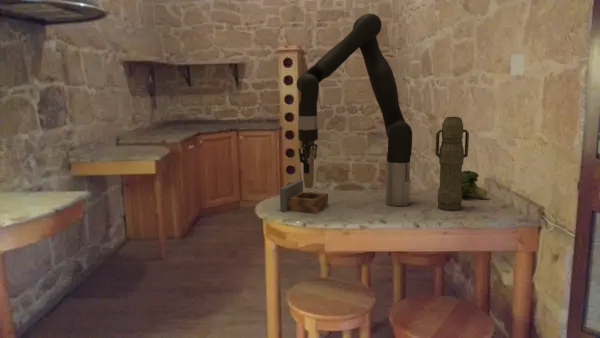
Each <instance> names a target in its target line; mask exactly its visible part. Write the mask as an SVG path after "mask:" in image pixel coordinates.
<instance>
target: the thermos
mask: <svg viewBox="0 0 600 338" xmlns="http://www.w3.org/2000/svg"><path fill="white" fill-rule="evenodd" d="M464 133H465V134H464ZM440 134H441V138H442V139H441V145H440ZM464 135H465V136H464ZM463 137H465V140H464V142H463ZM469 139H470V133H469V131H468V129H465V128H464V123H463V120H462V118H461V117H459V116H447V117H445V118H444V120H443V122H442V125H441V129H438V130H437V132H436V133H435V156H436V157H437V158H438V161H439V162H438V163H439V166H440V167H439V188H438V190H437V204H438V205H437V209H438V210H440V211H446V212H455V211H456V212H457V211H461V210H462V203H463V197H462V190H461V176H462V172H463V171H462V170H463V169H462V168H463V165H464V159H465V158H468V155H469V144H470V143H469V142H470V141H469ZM463 143H464V146H463Z"/></svg>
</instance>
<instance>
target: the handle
mask: <svg viewBox="0 0 600 338" xmlns="http://www.w3.org/2000/svg"><path fill="white" fill-rule="evenodd" d="M316 152H317V153H318V148H317V149H312V150H311V158H310V160H309V173H304V172H303V176H304V183H305V185H304V186H305V188H312V187H313V184H312V183H313V179H314V171H313V155H314V154H315V153H316ZM307 155H309V153H308V154H307Z"/></svg>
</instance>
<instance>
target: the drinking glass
mask: <svg viewBox="0 0 600 338" xmlns="http://www.w3.org/2000/svg"><path fill="white" fill-rule="evenodd" d="M299 167H300V178H301V179H300V180H303V192H313V193H316V192H315V191H316V190H315V185H316V173H317V163H316V159H314V179H313V183H312V184H313V187H312V188H305V186H304V185H305V183H304V176H303V163H301V162H300V166H299Z"/></svg>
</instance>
